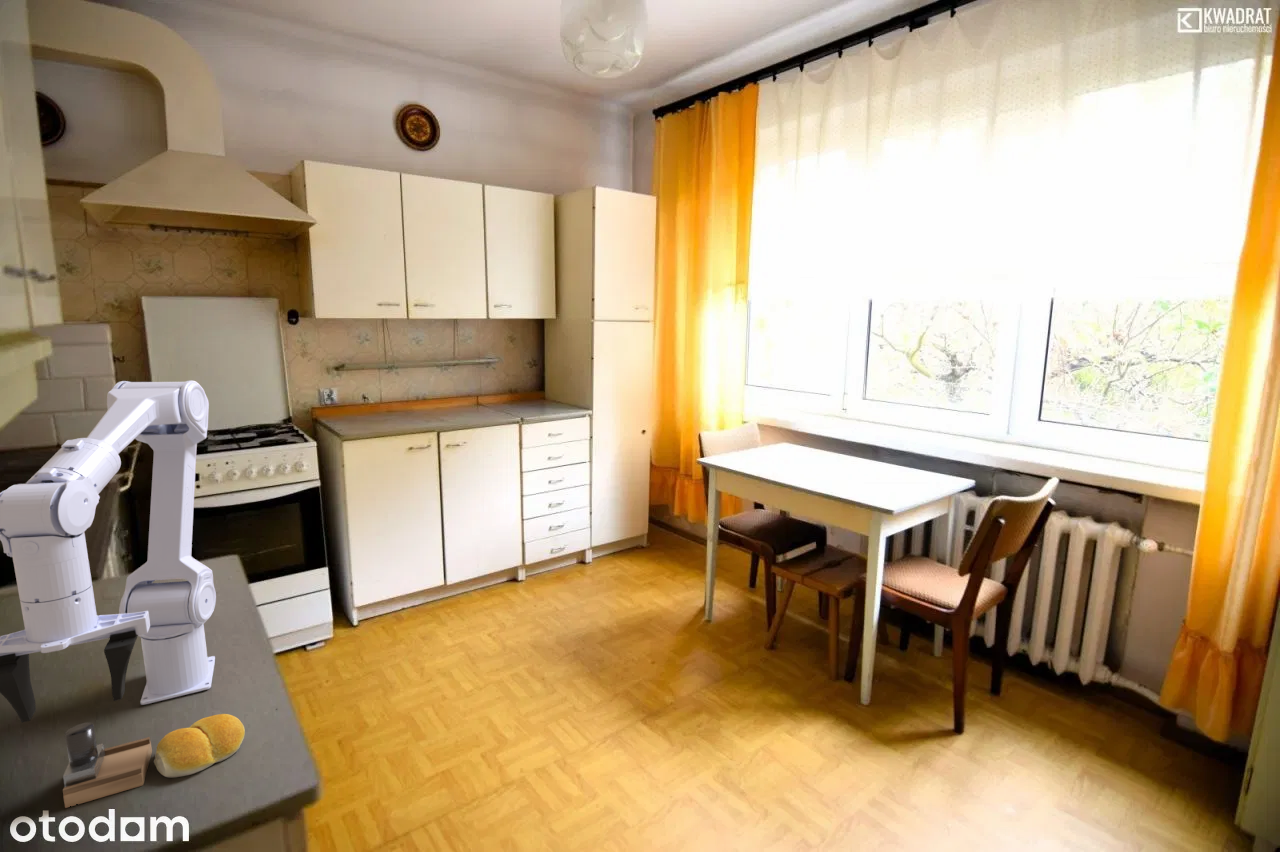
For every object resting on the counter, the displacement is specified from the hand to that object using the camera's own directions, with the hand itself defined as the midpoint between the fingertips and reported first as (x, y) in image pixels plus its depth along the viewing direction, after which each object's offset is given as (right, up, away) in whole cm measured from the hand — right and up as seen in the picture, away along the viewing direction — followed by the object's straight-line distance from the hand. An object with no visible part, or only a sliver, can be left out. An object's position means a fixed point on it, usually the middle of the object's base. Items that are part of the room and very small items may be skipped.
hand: (75, 705), depth 69 cm
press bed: (+2, -10, +3) cm, 10 cm away
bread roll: (+9, -9, +7) cm, 15 cm away
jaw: (0, -8, +1) cm, 8 cm away
